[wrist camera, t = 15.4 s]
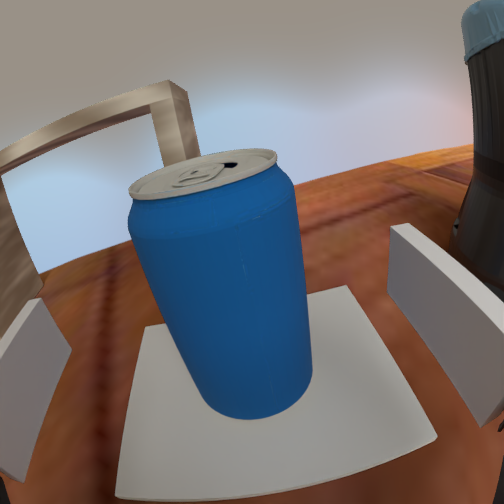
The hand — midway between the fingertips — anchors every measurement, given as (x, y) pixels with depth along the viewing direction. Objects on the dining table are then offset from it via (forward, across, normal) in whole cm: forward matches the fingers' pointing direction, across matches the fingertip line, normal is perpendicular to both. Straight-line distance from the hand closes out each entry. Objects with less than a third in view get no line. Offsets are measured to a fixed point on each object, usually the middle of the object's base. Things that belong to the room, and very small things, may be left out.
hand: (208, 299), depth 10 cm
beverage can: (+3, +1, -8) cm, 9 cm away
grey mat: (+3, 0, -9) cm, 9 cm away
